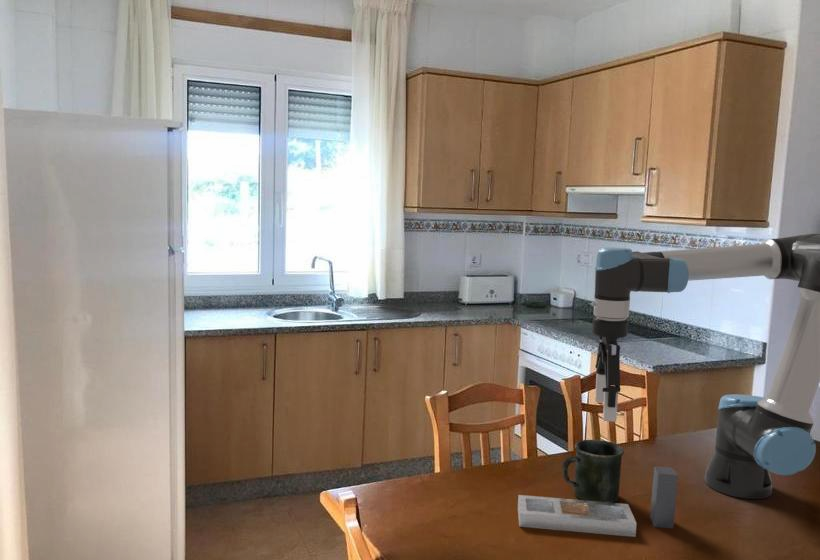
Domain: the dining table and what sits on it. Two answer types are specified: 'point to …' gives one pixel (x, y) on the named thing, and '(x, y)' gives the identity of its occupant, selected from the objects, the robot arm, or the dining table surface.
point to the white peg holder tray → (576, 515)
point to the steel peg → (663, 497)
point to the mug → (595, 470)
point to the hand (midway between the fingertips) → (605, 411)
